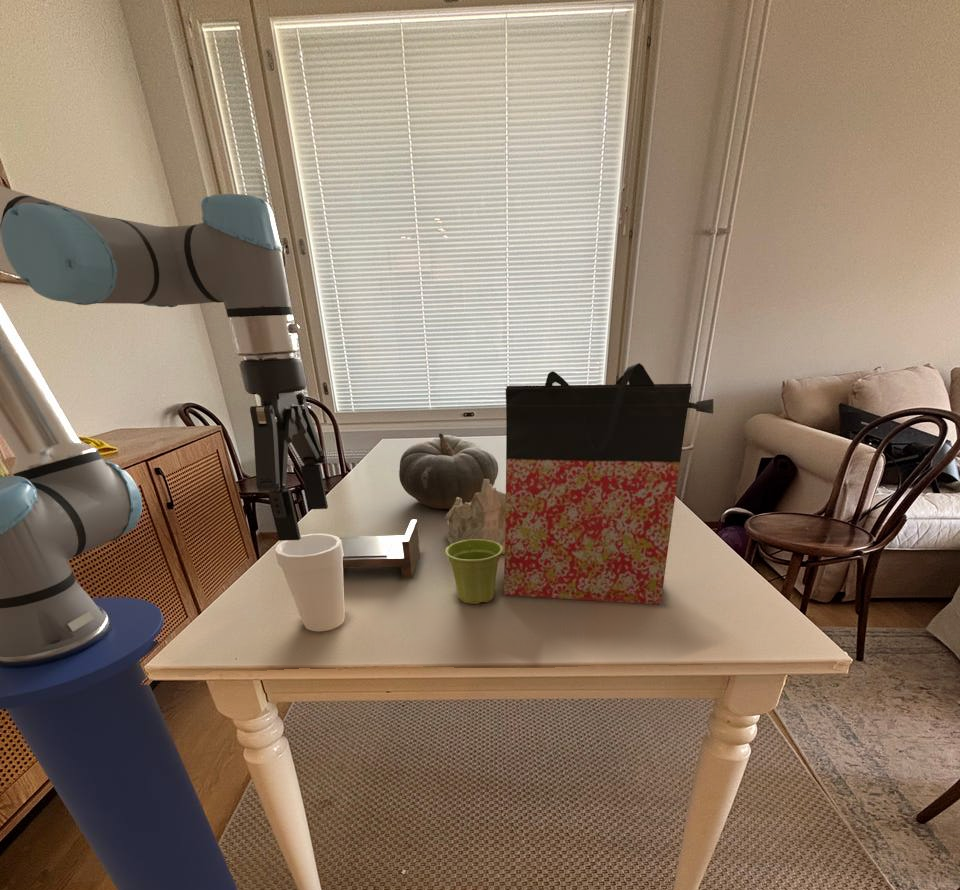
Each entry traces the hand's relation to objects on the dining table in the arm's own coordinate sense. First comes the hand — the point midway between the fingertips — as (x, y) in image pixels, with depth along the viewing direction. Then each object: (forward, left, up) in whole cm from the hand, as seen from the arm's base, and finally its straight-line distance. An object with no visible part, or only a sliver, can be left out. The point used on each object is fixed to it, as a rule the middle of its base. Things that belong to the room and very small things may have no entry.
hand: (305, 523), depth 77 cm
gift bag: (+44, +10, -17) cm, 48 cm away
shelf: (+4, +22, -16) cm, 28 cm away
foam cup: (0, 0, -17) cm, 17 cm away
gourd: (+16, +64, -17) cm, 68 cm away
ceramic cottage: (+26, +34, -17) cm, 46 cm away
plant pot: (+24, +8, -17) cm, 30 cm away
